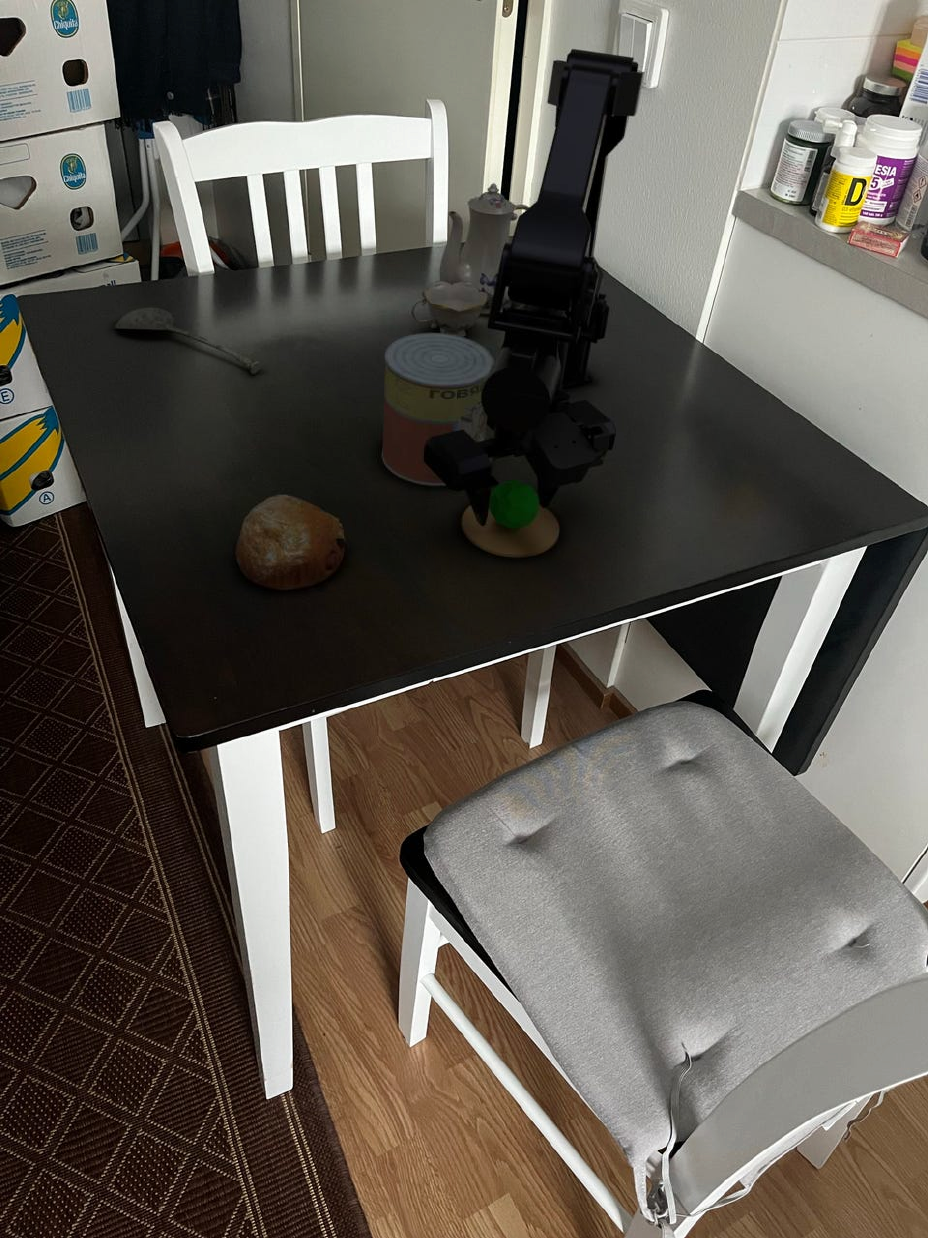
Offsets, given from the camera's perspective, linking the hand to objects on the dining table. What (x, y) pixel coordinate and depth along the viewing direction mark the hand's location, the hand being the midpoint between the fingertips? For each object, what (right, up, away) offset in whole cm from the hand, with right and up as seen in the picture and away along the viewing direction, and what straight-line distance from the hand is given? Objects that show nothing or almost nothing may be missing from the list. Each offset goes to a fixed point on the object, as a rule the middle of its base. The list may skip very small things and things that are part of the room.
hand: (512, 514), depth 100 cm
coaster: (0, -1, +1) cm, 2 cm away
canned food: (-8, +7, +10) cm, 15 cm away
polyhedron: (0, -1, +1) cm, 1 cm away
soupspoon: (-39, +23, +24) cm, 51 cm away
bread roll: (-21, -5, -5) cm, 23 cm away
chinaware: (-1, +32, +38) cm, 50 cm away
